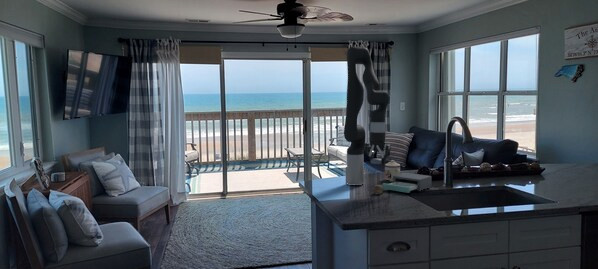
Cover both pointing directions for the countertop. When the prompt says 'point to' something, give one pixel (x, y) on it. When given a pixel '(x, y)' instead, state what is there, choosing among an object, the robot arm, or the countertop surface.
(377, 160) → the disc
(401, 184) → the tray
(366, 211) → the countertop surface
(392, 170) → the teacup with lid
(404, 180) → the player housing
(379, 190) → the pedestal
